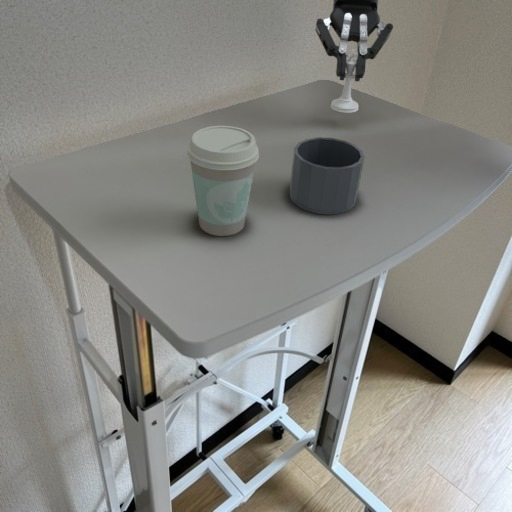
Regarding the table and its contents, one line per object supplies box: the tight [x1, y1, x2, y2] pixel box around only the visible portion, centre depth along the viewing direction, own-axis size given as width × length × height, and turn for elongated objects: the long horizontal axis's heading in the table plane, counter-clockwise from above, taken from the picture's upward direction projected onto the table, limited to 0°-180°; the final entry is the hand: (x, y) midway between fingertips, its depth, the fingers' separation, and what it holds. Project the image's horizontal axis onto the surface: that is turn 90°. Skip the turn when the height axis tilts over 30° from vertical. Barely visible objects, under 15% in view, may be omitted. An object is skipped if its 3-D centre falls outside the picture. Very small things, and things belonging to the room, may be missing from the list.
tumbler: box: [289, 136, 365, 216], centre depth 76 cm, size 9×9×7 cm
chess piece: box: [330, 49, 359, 114], centre depth 95 cm, size 5×5×10 cm
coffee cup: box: [186, 125, 260, 237], centre depth 68 cm, size 8×8×12 cm
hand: (350, 78), depth 92 cm, fingers closed on chess piece
